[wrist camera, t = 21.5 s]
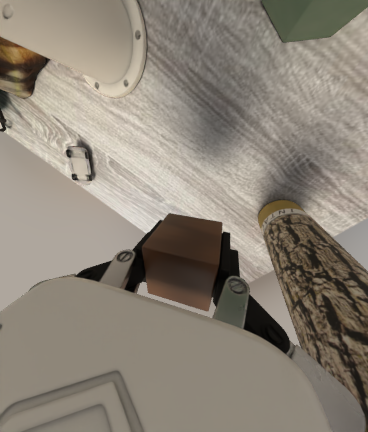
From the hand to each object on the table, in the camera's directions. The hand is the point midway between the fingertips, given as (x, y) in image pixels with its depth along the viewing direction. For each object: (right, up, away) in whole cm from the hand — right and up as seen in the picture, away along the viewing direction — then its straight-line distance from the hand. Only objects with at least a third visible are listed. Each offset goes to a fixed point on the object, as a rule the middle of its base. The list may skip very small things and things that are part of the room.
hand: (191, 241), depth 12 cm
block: (0, 0, 0) cm, 0 cm away
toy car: (-23, +12, +17) cm, 31 cm away
